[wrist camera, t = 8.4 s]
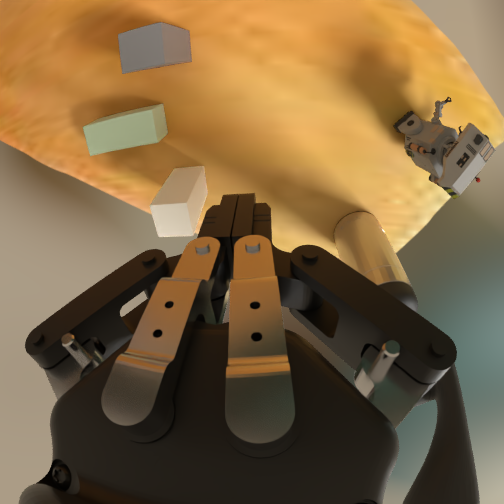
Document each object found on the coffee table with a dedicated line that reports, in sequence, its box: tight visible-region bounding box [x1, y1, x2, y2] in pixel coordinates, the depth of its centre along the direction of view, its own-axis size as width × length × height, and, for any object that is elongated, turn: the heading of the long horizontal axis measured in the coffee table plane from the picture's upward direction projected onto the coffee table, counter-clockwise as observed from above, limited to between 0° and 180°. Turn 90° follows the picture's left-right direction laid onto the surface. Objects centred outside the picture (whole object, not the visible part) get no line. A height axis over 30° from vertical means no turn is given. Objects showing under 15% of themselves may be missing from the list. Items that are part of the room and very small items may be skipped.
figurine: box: [393, 97, 495, 199], centre depth 30 cm, size 9×12×15 cm
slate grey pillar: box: [118, 22, 192, 74], centre depth 25 cm, size 5×5×12 cm
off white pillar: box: [150, 166, 208, 237], centre depth 39 cm, size 5×5×12 cm
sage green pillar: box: [83, 104, 168, 156], centre depth 36 cm, size 5×5×12 cm
